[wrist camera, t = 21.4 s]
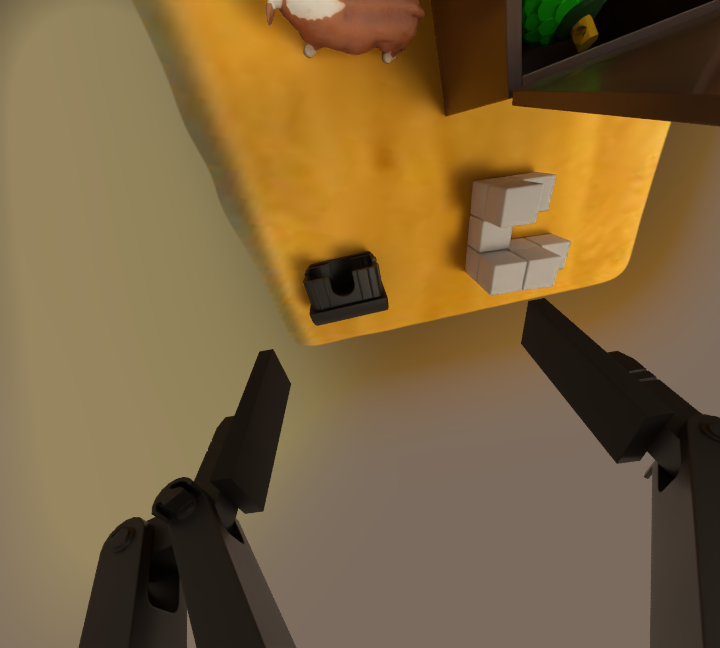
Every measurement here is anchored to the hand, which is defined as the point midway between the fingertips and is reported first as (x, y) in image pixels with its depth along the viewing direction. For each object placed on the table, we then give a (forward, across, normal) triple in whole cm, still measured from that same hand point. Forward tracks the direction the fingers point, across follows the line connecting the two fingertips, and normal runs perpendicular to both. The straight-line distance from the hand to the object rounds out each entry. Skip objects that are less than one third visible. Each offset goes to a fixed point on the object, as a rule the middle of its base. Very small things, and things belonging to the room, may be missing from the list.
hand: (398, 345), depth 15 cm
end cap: (+25, -5, -8) cm, 27 cm away
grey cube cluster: (+27, +19, -5) cm, 33 cm away
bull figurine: (+27, 0, +17) cm, 32 cm away
